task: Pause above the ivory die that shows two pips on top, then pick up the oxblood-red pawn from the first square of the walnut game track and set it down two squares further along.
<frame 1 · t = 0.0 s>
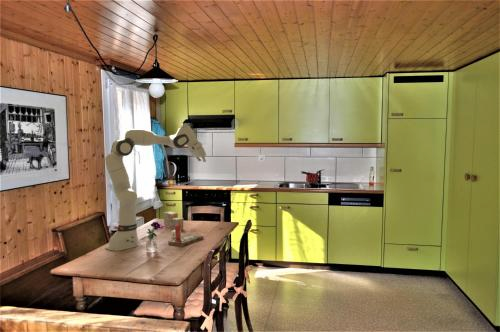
hand: (202, 161, 290), 54 cm above the table, tool tilted 30°, fingers open, 8 cm apart
board: (186, 241, 273), on the table
die: (176, 237, 284), on the table
pawn: (178, 241, 266), point 2 cm above the table, touching board
stack of blocks: (173, 228, 312), on the table
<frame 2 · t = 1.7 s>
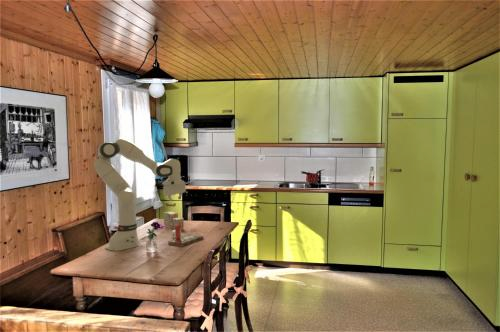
hand: (175, 200, 282), 27 cm above the table, tool pointing down, fingers open, 8 cm apart
nothing on the table moved.
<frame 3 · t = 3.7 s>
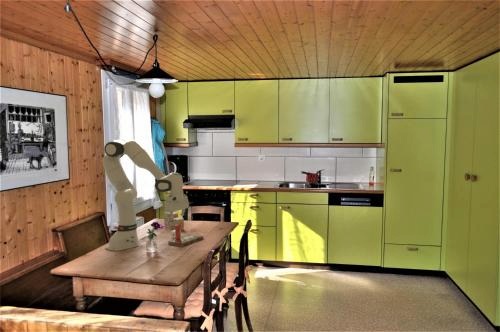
hand: (177, 216, 264), 19 cm above the table, tool pointing down, fingers open, 8 cm apart
nothing on the table moved.
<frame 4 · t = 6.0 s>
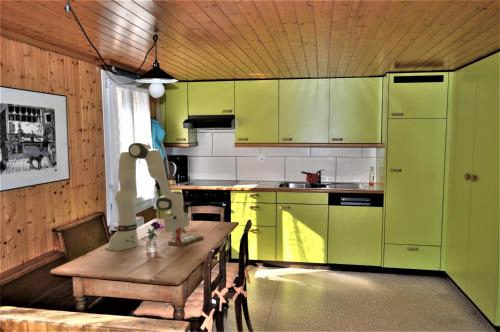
hand: (177, 235, 265), 6 cm above the table, tool pointing down, fingers closed on pawn, 3 cm apart
pawn: (178, 241, 266), point 2 cm above the table, touching board, gripper
everything else where it was.
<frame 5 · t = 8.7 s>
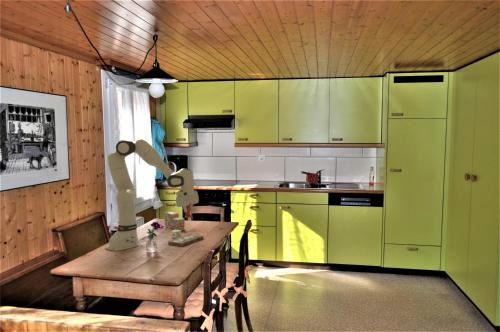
hand: (188, 211, 273), 21 cm above the table, tool pointing down, fingers closed on pawn, 3 cm apart
pawn: (188, 217, 274), point 17 cm above the table, touching gripper
everything else where it was.
when the fingers open (8 cm above the table, at t = 11.7 s): pawn drops 1 cm, resting on board.
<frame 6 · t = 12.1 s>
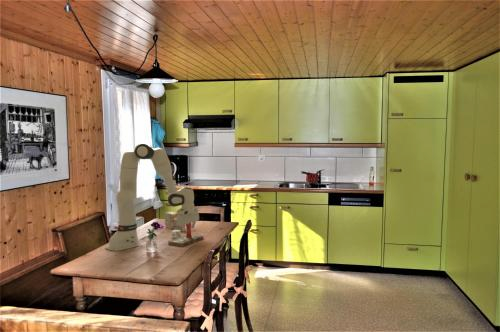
hand: (188, 229, 274), 8 cm above the table, tool pointing down, fingers open, 8 cm apart
pawn: (188, 237, 275), point 2 cm above the table, touching board
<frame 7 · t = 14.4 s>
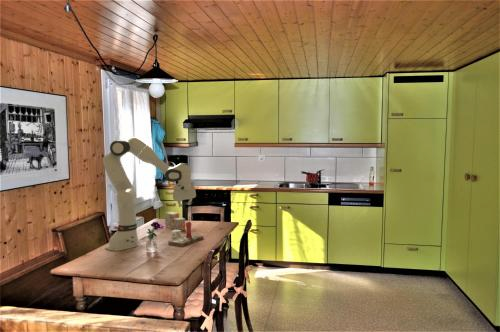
hand: (184, 205, 275), 24 cm above the table, tool pointing down, fingers open, 8 cm apart
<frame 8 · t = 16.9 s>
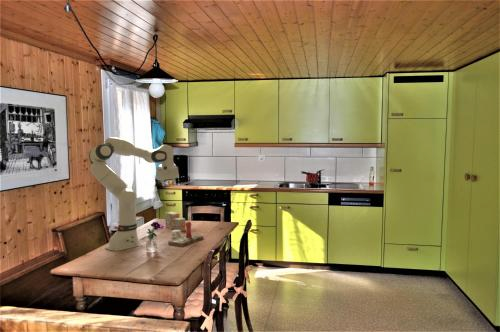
hand: (168, 185, 290), 37 cm above the table, tool pointing down, fingers open, 8 cm apart
at the end: pawn 0.0 cm from the target spot on the board, point 2.3 cm above the board's base; pawn tilted 1°; the gripper is holding nothing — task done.
